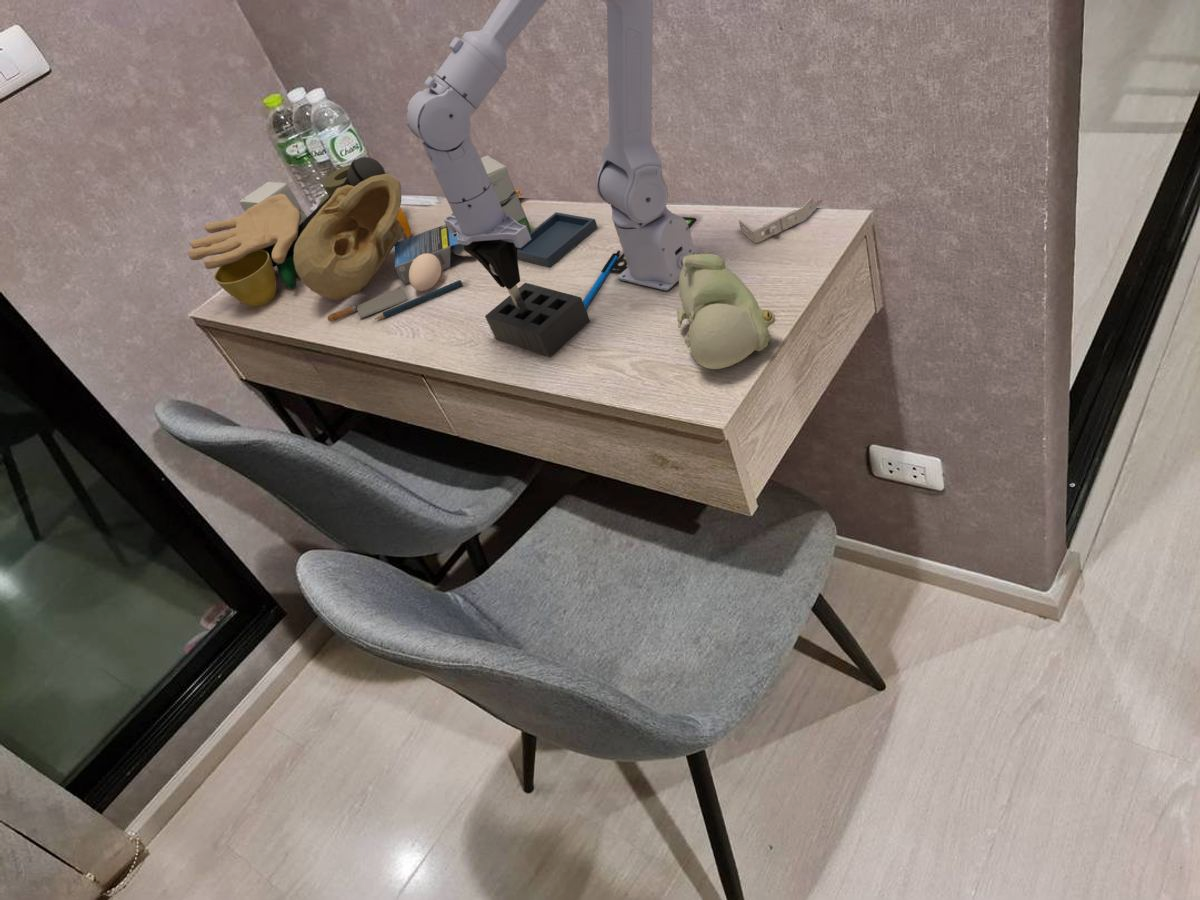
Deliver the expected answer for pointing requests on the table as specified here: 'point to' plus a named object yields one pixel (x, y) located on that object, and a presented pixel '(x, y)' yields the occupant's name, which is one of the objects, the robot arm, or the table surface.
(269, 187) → the white packaging box
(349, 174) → the microphone
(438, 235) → the label tape box
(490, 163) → the ink box
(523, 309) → the spoon
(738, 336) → the figurine
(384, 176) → the ear model
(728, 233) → the table surface
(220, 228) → the hand model
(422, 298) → the pencil
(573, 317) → the rack
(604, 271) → the pen
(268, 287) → the flower pot
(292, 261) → the gaming controller
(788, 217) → the bracket
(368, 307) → the cleaver
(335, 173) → the flange
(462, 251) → the artifact
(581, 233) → the tray
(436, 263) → the egg
